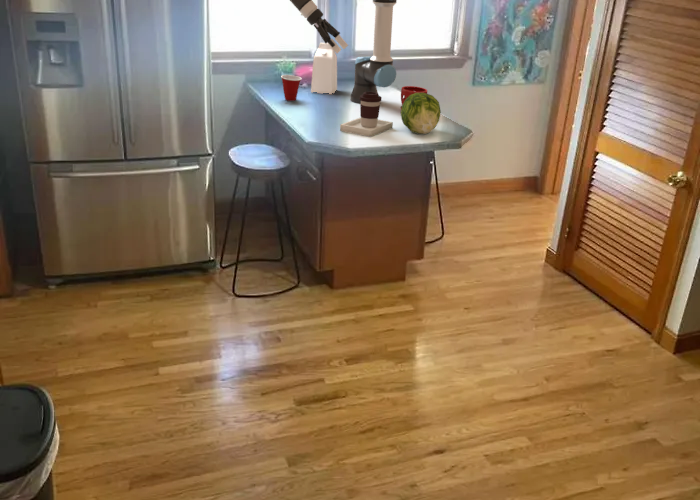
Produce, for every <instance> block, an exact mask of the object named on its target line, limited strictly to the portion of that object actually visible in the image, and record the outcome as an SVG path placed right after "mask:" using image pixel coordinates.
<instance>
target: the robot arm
mask: <svg viewBox="0 0 700 500" xmlns="http://www.w3.org/2000/svg"><path fill="white" fill-rule="evenodd" d="M289 1H290V2H291V4H292V5H293V6H294V7H295V8H296V9H297V10H298V11H299V13H300V16H302V17H304V18H305V19H306V21H307V23H308V24H309V25H311V26H313V27H314V29H316V31H317V32H318V34H319V36H320V37H321V39H322V40H323V43H328V44H329V45H330V46H331V48H332V49H333V50H334V52H335V54H339V53H340V52H341V50H342V49H343V50H345V49H346V48H347V47H348V46H349V44H348V43H347V42H346V41H345V39H343V37H342V36H341V35H340V34H341V32H340V31H338V30H337V29H336V28H335V27H334V26H333V25H332V24H331V23H330V22H329V21H328V20H327V19H326V18H322V17H323V16H324V12H322V11H321V9H320V8H318V6H317V4H316V3H315V2H314V1H313V0H289ZM397 1H398V0H372V3H373V4H374V6H375V10H374V15H375V16H374V30H373V31H374V32H373V33H374V34H373V53H372V56H367V55H366V56H358V57H356V58H355V63H354V83H353V84H354V85H353V88H352V91H351V93H350V102H353V103H357V104H361V100H360V95H363V93H364V92H376V93H378V94H379V92H378V88H377V87H379V88H388V87H390V86H391V85H393V83H394V82H395V81H396V78H397V69H396V68H395V67H394V59H393V58H392V57H391V48H392V47H391V45H392V32H393V14H394V13H393V12H394V6H395V5H396V4H397ZM330 35H331V36H332V37H333V38H334V39H333V38H331V36H330ZM337 43H338V44H337Z"/></svg>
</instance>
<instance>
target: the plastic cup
mask: <svg viewBox="0 0 700 500" xmlns="http://www.w3.org/2000/svg"><path fill="white" fill-rule="evenodd" d="M280 78H281V82H282V88H283V95H284V100H285V101H289V102H293V101H297V96H298V92H299V87H300V83H301V81H302V79H303V78H302V77H301V76H297V75H293V74H292V75H291V74H283V75H281V76H280Z"/></svg>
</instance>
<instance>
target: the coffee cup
mask: <svg viewBox="0 0 700 500" xmlns="http://www.w3.org/2000/svg"><path fill="white" fill-rule="evenodd" d="M360 100H361V103H359V104H360V105H359V106H360V111H359V112H360V117H361V125H362V126H363V127H369V128H371V127H376V126H377V120H379V116H380V115H379V114H380V109H381V108H380V107H381V105H380V104H381V101H382V96H380V95H379V92H378V93H376V92H364V93H363V95H360Z"/></svg>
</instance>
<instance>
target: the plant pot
mask: <svg viewBox="0 0 700 500" xmlns="http://www.w3.org/2000/svg"><path fill="white" fill-rule="evenodd" d="M400 90H401V91H400V103H401V106H400V110H401V109H402V105H403V103H404V101H405V100H406V99H407V98H408V97H409V96H410V95H412V94H414V93H426V94H428V89H426V88H425V87H420V86H415V85H414V86H411V85H406V86H405V85H404V86H402V87H401V89H400Z"/></svg>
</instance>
